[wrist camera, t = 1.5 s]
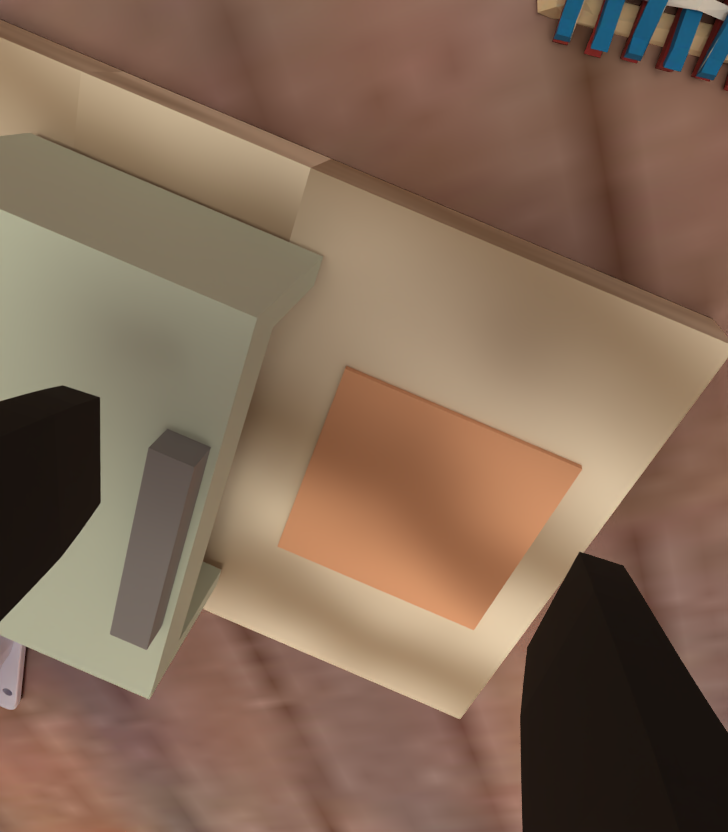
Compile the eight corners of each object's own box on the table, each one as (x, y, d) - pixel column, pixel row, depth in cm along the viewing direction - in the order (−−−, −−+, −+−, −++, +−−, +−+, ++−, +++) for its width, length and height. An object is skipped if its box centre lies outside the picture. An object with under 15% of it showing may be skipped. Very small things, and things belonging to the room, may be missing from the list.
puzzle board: (463, 674, 25) (459, 723, 23) (-140, 416, 25) (-194, 444, 23) (712, 319, 17) (738, 349, 15) (-182, -57, 17) (-270, -75, 15)
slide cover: (216, 585, 22) (134, 724, 17) (6, 495, 22) (-133, 609, 17) (323, 256, 16) (241, 332, 11) (30, 133, 16) (-179, 155, 11)
